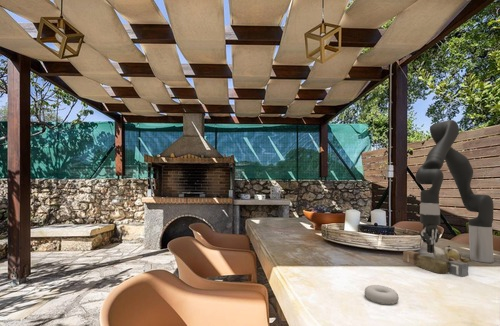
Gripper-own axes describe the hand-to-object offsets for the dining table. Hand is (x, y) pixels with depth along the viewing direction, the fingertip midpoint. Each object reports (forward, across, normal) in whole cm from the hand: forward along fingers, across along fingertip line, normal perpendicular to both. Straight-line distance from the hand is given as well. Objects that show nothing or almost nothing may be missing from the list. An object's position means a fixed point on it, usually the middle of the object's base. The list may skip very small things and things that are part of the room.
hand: (430, 252), depth 122 cm
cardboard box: (+8, -3, -11) cm, 14 cm away
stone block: (+8, 0, 0) cm, 8 cm away
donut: (+8, +49, +12) cm, 51 cm away
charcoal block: (+7, -4, +9) cm, 12 cm away
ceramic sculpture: (+8, -20, -2) cm, 22 cm away
